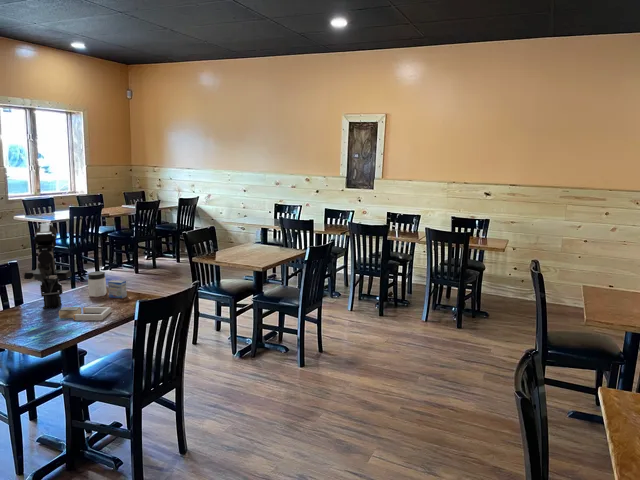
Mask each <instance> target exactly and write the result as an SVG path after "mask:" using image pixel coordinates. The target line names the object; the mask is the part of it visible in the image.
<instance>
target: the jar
mask: <svg viewBox="0 0 640 480" xmlns="http://www.w3.org/2000/svg"><path fill="white" fill-rule="evenodd" d="M106 278H107V277H106V273H105V272H104V271H101V270H100V271H91V272H89V273H87V287H88V295H89V297H94V298H98V297H103V296H105V295H106V294H107V281H106Z"/></svg>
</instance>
